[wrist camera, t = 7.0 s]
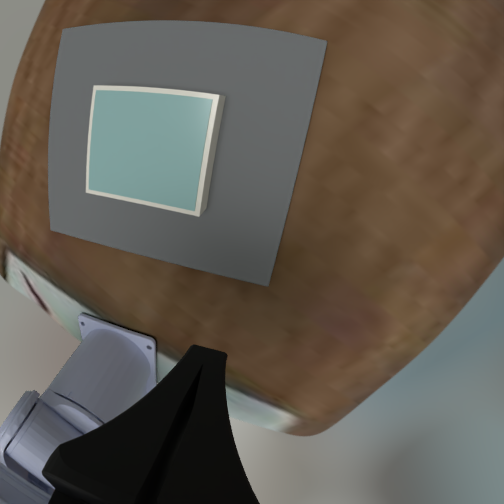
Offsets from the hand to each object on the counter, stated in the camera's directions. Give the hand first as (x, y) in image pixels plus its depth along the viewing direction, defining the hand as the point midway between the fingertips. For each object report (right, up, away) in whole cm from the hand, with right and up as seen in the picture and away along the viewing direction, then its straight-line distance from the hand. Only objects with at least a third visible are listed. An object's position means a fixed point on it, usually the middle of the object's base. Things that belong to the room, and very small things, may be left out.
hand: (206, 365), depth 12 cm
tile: (-1, +10, +6) cm, 11 cm away
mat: (-4, +11, +7) cm, 14 cm away
